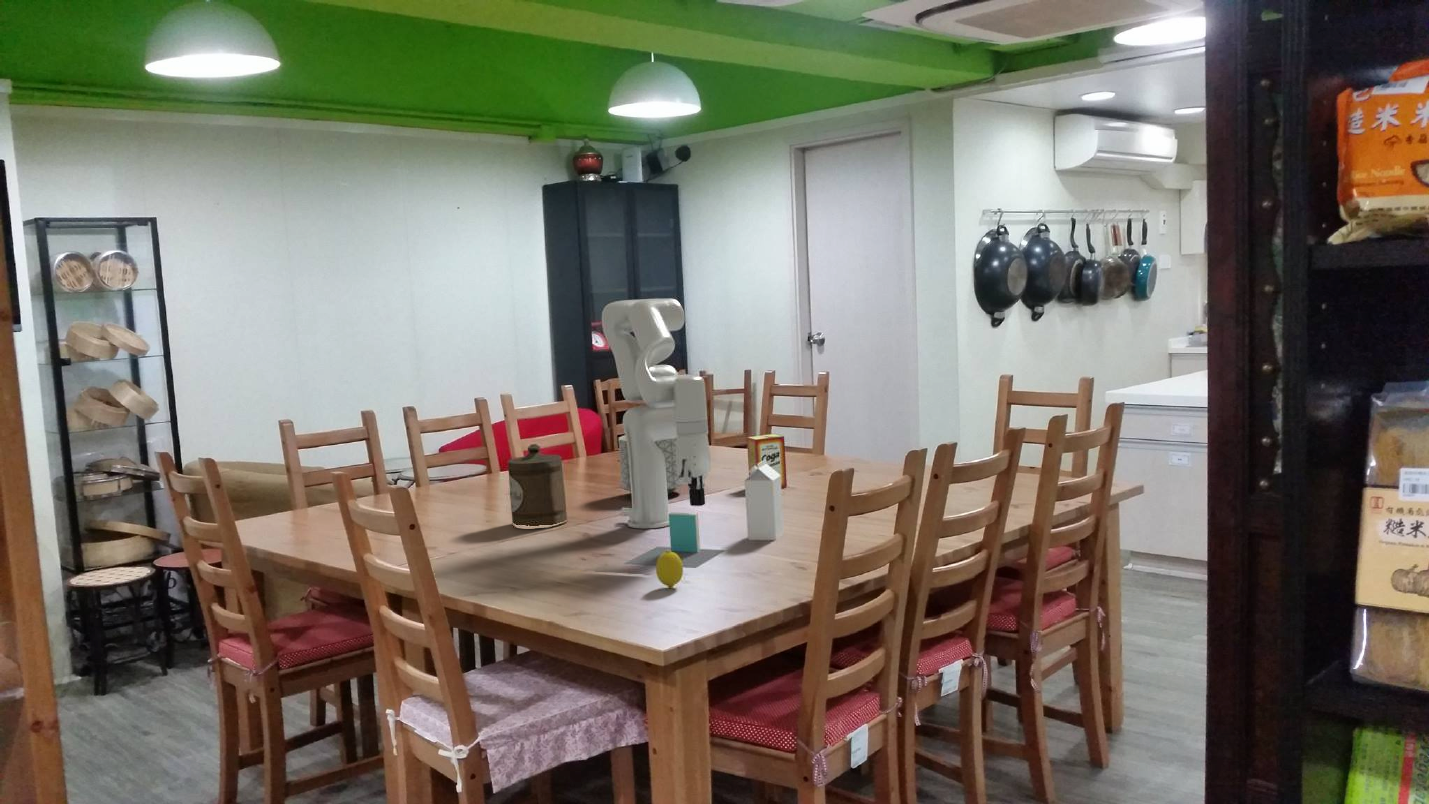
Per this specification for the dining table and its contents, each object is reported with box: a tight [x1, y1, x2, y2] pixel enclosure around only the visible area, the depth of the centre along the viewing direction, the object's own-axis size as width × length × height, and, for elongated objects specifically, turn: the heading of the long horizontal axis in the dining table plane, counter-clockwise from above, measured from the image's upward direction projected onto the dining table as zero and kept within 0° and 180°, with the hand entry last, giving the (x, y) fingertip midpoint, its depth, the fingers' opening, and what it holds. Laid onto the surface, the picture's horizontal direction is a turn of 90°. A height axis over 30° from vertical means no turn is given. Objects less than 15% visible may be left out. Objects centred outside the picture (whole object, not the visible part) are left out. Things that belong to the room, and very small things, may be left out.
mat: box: [623, 546, 727, 569], centre depth 251 cm, size 18×16×1 cm
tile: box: [668, 512, 701, 553], centre depth 255 cm, size 7×2×9 cm, turn 65°
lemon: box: [655, 550, 684, 589], centre depth 226 cm, size 6×6×8 cm
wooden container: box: [507, 443, 568, 526], centre depth 299 cm, size 15×15×22 cm
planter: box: [618, 435, 685, 496], centre depth 331 cm, size 19×19×18 cm
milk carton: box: [744, 459, 785, 541], centre depth 265 cm, size 7×7×19 cm
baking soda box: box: [746, 433, 788, 489], centre depth 332 cm, size 10×6×16 cm
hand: (697, 505), depth 260 cm, fingers closed
